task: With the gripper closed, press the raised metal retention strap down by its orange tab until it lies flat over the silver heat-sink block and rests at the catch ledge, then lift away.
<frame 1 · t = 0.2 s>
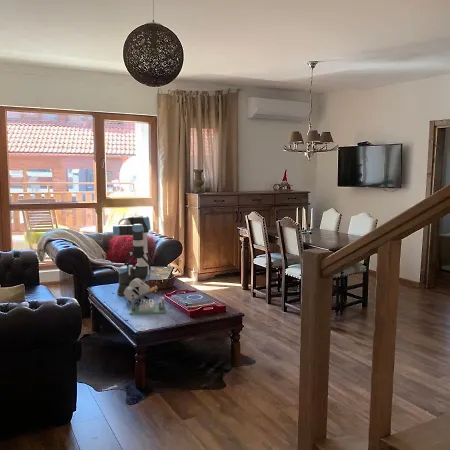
hand: (139, 274, 335), 28 cm above the table, fingers open, 13 cm apart
board: (147, 310, 342), on the table
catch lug: (161, 303, 342), on the board, point 5 cm above the table
heatsink: (146, 305, 341), on the board, point 4 cm above the table
forked tab bracket: (133, 304, 340), on the board, point 5 cm above the table
robotic device: (137, 303, 359), on the table
strap: (144, 294, 340), point 12 cm above the table, hinge at 28.0°
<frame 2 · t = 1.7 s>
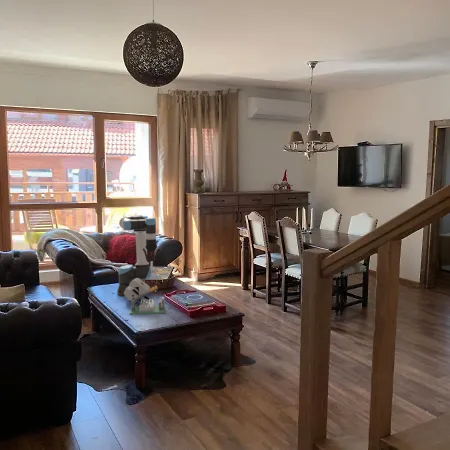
hand: (151, 270, 343), 29 cm above the table, fingers closed
nothing on the table moved.
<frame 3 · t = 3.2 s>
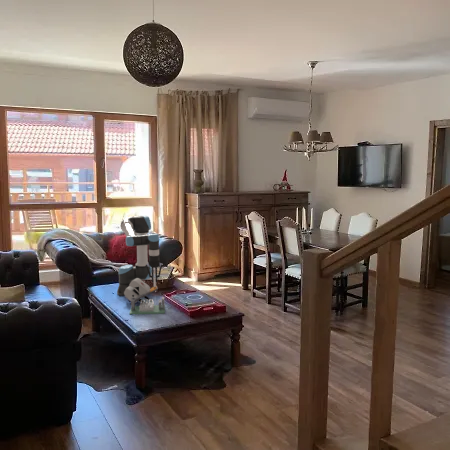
hand: (154, 286, 340), 18 cm above the table, fingers closed
strap: (144, 294, 340), point 12 cm above the table, hinge at 27.6°, touching gripper
everything else where it was.
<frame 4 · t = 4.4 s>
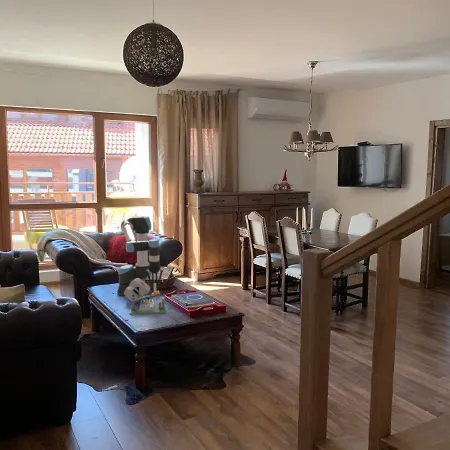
hand: (155, 292, 340), 14 cm above the table, fingers closed
strap: (145, 297, 340), point 10 cm above the table, hinge at 15.0°, touching gripper
everything else where it was.
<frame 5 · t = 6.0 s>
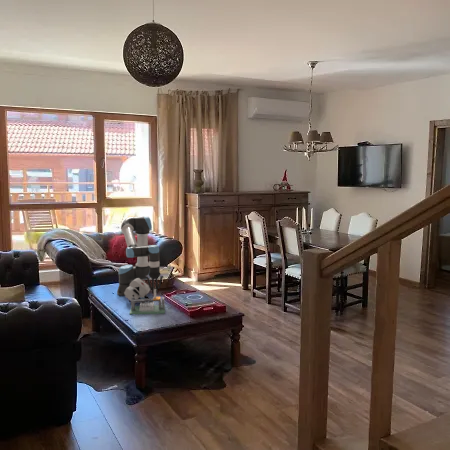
hand: (155, 297, 341), 10 cm above the table, fingers closed
strap: (146, 299, 340), point 8 cm above the table, hinge at 1.5°, touching gripper
everything else where it was.
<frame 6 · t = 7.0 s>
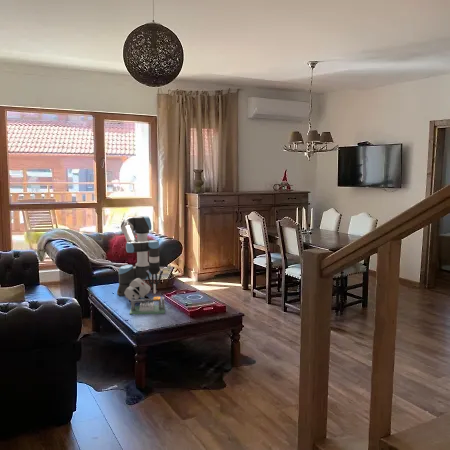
hand: (154, 292, 341), 13 cm above the table, fingers closed
strap: (146, 299, 340), point 8 cm above the table, hinge at 1.5°
everything else where it was.
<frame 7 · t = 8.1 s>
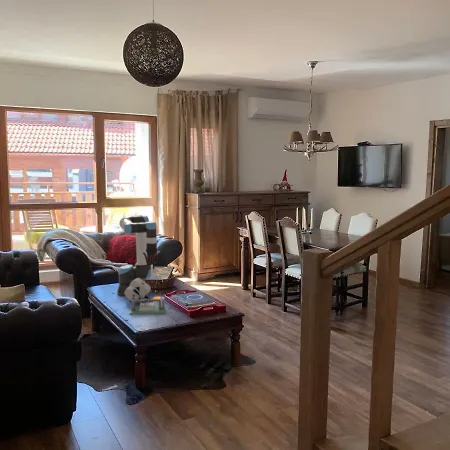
hand: (152, 273, 344), 26 cm above the table, fingers closed
nothing on the table moved.
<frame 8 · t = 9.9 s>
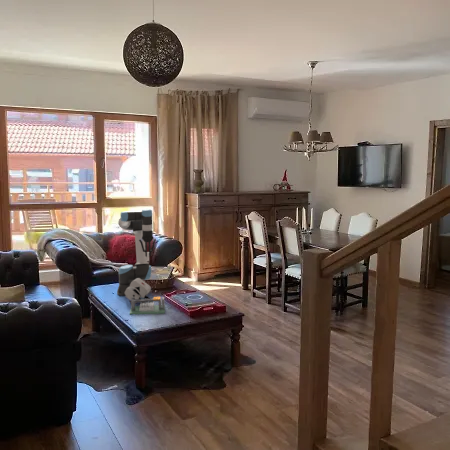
hand: (148, 260, 351), 34 cm above the table, fingers closed
nothing on the table moved.
at the end: strap at +2° (first picture: +28°); strap touching nothing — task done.
